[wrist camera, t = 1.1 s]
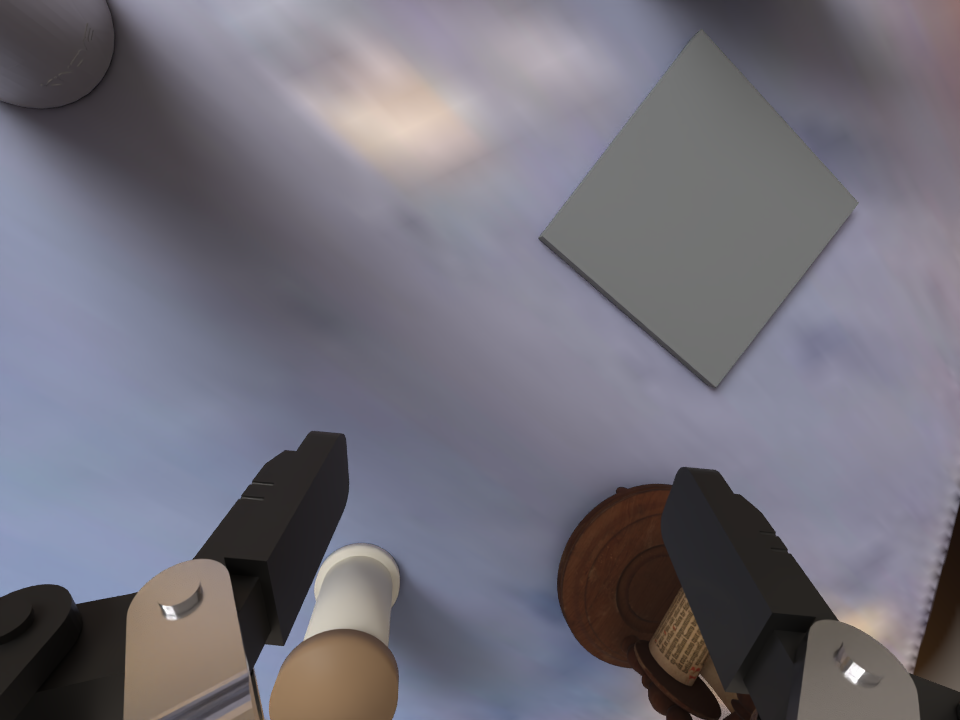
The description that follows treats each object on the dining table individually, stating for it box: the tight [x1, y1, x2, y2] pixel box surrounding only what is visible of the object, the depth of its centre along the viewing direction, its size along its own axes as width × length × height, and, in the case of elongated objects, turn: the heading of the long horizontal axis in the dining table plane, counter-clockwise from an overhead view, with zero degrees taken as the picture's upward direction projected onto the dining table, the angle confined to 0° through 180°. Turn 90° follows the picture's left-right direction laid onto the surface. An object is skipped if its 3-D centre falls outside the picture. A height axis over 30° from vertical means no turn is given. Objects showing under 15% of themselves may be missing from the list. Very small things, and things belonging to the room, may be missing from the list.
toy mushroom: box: [269, 543, 400, 720], centre depth 27 cm, size 6×6×10 cm
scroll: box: [557, 484, 756, 720], centre depth 26 cm, size 15×15×20 cm
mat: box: [539, 29, 858, 387], centre depth 32 cm, size 18×18×1 cm
